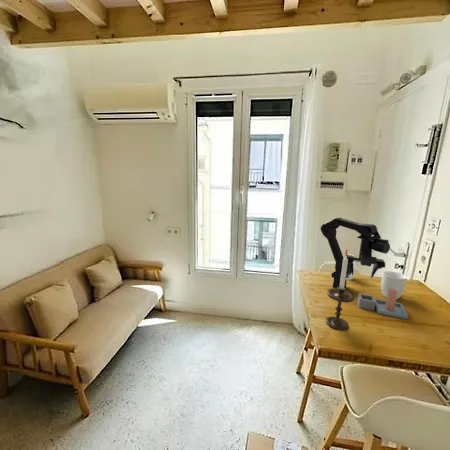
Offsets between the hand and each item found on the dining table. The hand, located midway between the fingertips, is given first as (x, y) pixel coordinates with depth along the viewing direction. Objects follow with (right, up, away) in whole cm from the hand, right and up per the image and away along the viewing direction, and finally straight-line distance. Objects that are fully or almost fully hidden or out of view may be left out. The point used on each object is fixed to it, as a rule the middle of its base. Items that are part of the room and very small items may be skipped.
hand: (361, 276), depth 142 cm
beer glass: (+5, -7, +28) cm, 29 cm away
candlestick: (-24, -17, -24) cm, 38 cm away
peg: (+7, -14, -12) cm, 20 cm away
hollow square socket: (-3, -14, -8) cm, 16 cm away
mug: (+18, -12, +4) cm, 22 cm away
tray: (+7, -15, -12) cm, 21 cm away
